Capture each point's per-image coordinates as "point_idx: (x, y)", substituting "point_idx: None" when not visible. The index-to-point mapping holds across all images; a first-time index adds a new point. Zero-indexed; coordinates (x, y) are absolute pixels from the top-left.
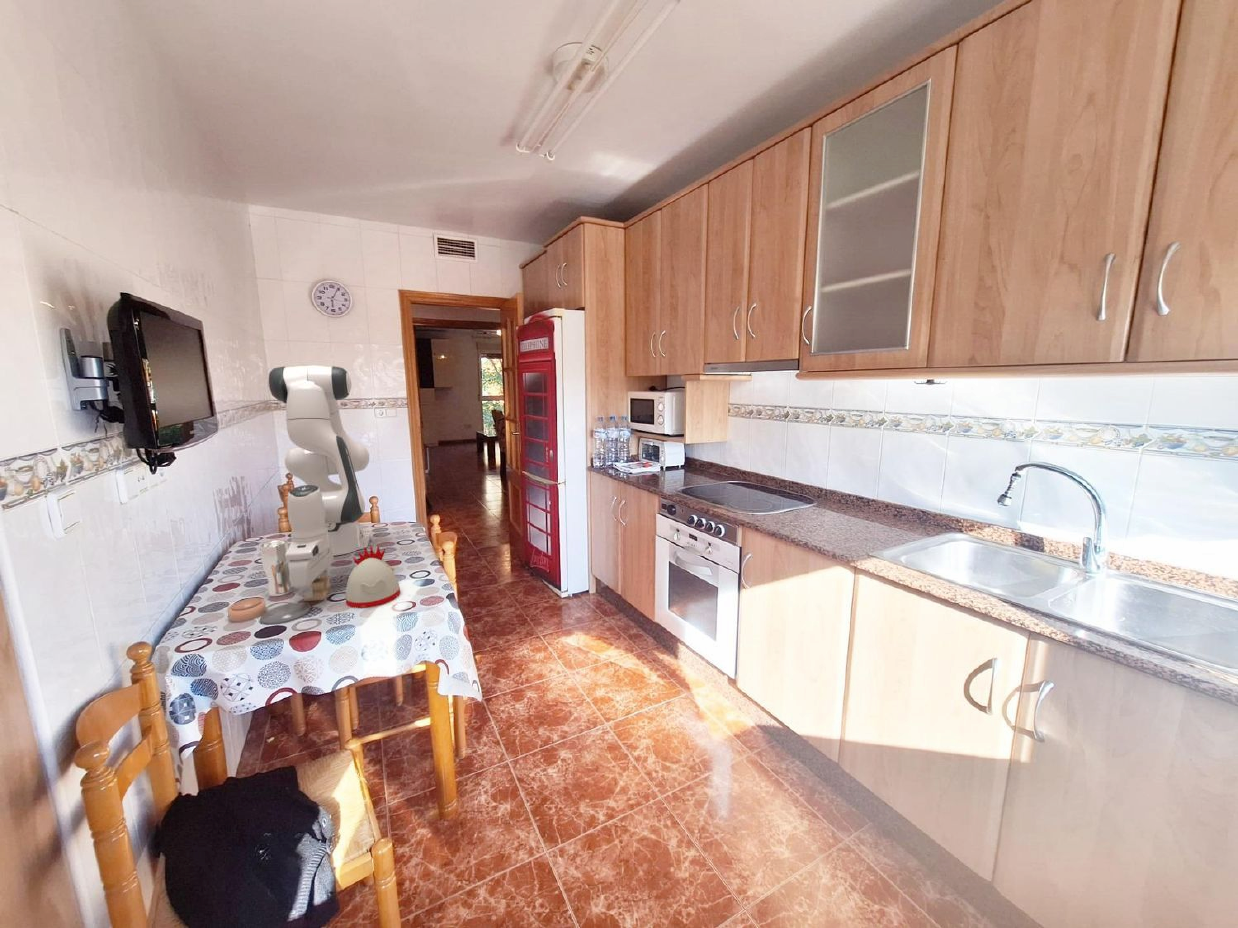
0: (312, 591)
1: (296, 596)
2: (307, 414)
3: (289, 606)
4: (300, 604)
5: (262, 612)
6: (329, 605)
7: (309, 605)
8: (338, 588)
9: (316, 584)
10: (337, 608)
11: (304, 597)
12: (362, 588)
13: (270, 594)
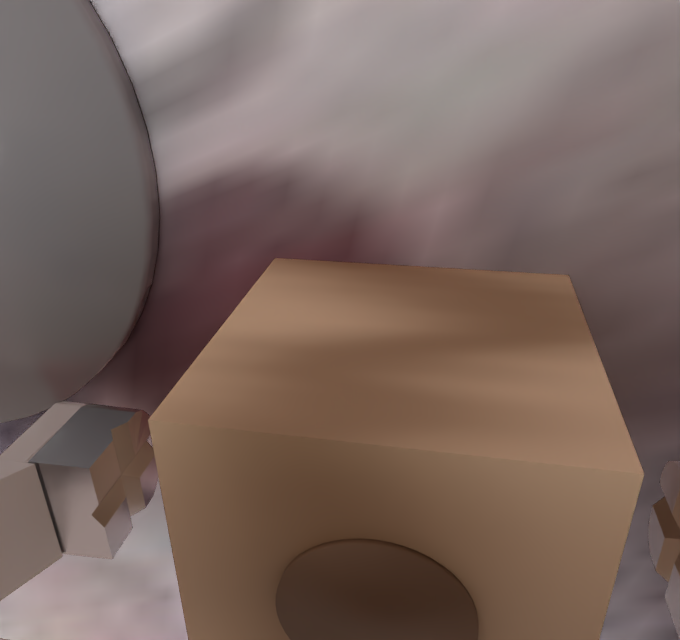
0: (49, 546)
1: (537, 27)
2: None
3: (20, 140)
4: (87, 279)
5: None
6: (120, 549)
7: (52, 401)
8: (635, 569)
9: (192, 626)
10: (55, 612)
11: (254, 291)
12: None
13: None
